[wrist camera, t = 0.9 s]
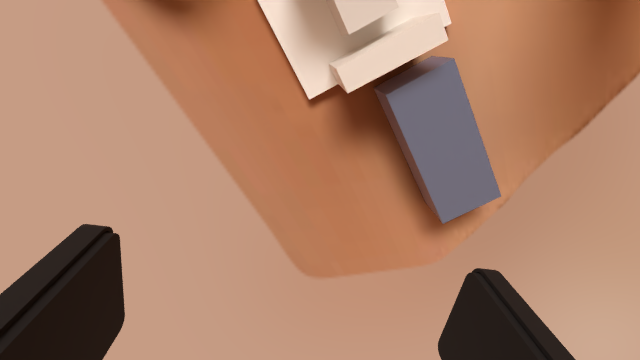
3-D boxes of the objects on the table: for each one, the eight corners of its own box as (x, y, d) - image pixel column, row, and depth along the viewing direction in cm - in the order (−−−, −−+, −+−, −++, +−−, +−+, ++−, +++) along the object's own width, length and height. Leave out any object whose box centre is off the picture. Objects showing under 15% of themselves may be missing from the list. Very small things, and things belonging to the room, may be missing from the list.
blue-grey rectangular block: (430, 56, 31) (454, 58, 26) (475, 176, 36) (501, 196, 32) (372, 87, 32) (385, 95, 27) (424, 201, 37) (442, 223, 32)
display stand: (406, -102, 26) (443, -149, 20) (446, 23, 30) (488, 18, 23) (252, -10, 28) (239, -26, 21) (308, 97, 31) (312, 112, 25)
